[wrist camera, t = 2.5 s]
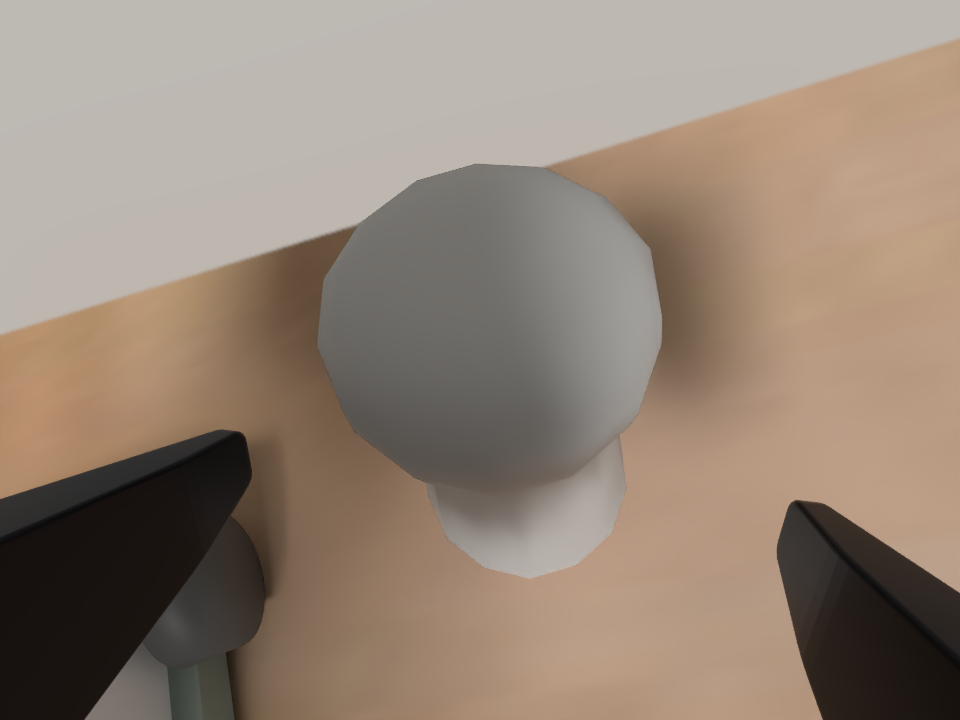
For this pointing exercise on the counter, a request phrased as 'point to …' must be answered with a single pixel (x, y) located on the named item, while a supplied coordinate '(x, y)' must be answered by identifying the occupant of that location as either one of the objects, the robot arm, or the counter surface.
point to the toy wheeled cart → (193, 641)
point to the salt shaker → (498, 355)
